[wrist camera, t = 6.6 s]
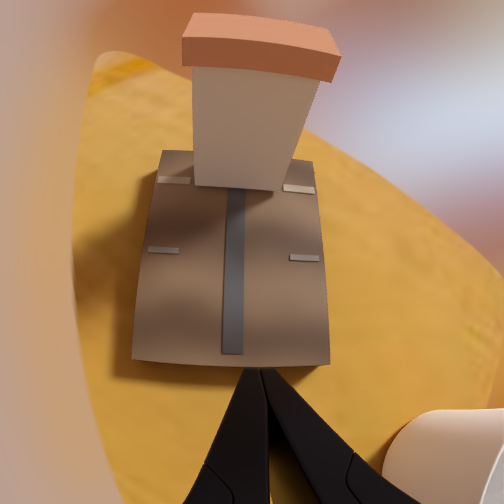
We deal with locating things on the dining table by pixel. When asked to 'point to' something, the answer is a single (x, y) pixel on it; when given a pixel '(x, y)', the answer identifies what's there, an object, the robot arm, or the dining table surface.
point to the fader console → (232, 273)
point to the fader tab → (252, 94)
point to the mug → (450, 457)
